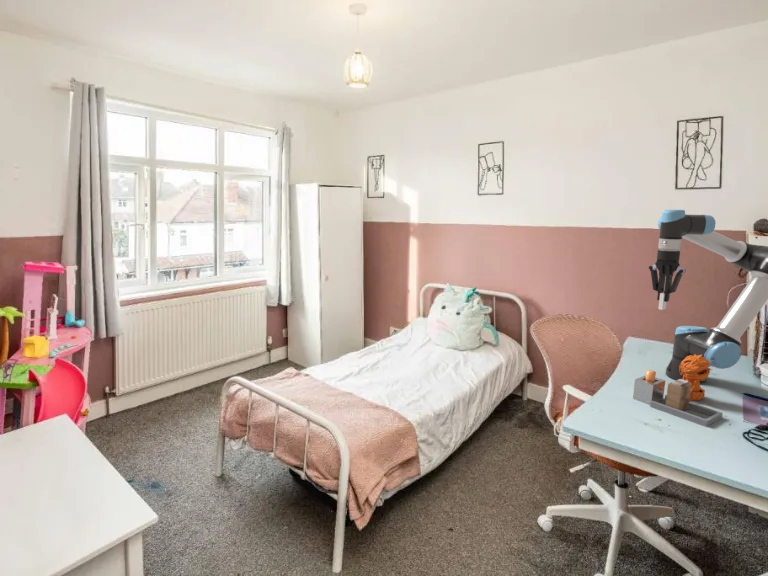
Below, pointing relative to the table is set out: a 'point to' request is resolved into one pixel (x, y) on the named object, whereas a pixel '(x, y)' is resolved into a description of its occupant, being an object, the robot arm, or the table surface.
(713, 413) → the guide channel
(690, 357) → the orange figurine
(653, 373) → the orange rounded peg
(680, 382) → the carriage
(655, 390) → the grey block with hole
